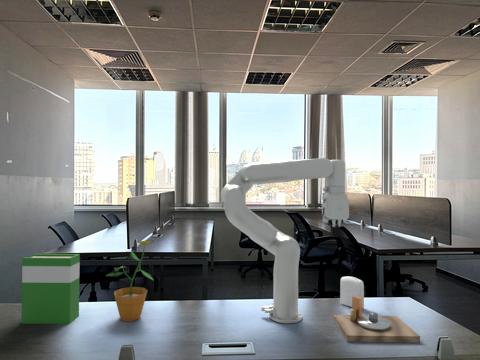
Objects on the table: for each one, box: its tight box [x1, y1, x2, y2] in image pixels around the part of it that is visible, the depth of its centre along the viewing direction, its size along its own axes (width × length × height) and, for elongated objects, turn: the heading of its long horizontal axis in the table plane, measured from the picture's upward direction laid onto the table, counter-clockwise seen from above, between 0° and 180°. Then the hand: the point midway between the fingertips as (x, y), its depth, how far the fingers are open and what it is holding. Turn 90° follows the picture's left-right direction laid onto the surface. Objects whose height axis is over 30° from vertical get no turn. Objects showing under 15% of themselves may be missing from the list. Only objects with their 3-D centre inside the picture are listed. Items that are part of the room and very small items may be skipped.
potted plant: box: [104, 240, 154, 322], centre depth 135 cm, size 18×19×30 cm
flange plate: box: [351, 296, 390, 331], centre depth 126 cm, size 14×11×8 cm
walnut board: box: [332, 308, 421, 343], centre depth 125 cm, size 24×18×6 cm
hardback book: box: [21, 253, 81, 325], centre depth 132 cm, size 18×7×24 cm, turn 90°
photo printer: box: [339, 275, 365, 310], centre depth 150 cm, size 10×4×12 cm, turn 39°
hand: (334, 236), depth 140 cm, fingers closed
